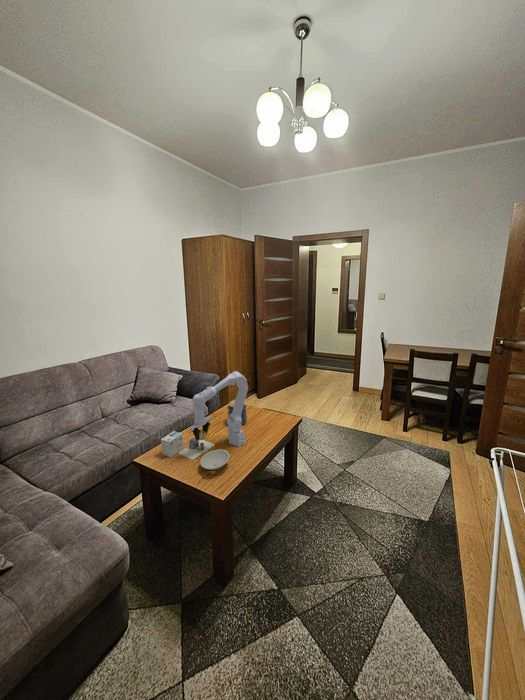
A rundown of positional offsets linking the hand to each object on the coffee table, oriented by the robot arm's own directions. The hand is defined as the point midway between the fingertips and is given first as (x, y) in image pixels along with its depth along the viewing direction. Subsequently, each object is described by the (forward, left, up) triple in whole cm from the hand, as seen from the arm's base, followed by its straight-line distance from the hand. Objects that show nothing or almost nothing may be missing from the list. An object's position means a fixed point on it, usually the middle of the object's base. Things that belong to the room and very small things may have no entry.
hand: (201, 436), depth 167 cm
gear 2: (0, 0, 0) cm, 0 cm away
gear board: (+3, +1, -9) cm, 10 cm away
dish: (-17, +7, -9) cm, 20 cm away
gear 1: (+6, 0, -8) cm, 10 cm away
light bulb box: (+13, +10, -9) cm, 19 cm away
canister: (+4, -39, -9) cm, 40 cm away
